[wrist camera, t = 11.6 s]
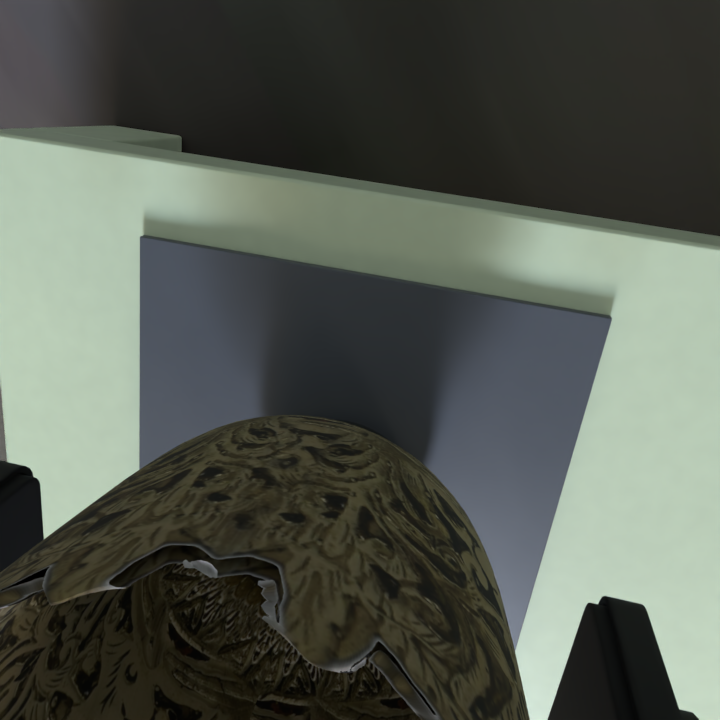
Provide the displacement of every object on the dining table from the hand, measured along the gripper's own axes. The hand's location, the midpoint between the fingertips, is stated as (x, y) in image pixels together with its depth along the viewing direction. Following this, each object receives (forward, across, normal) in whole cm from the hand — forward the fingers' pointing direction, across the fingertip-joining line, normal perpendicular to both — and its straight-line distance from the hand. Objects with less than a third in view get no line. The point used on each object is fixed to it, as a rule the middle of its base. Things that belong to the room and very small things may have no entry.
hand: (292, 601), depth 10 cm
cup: (+4, 0, 0) cm, 4 cm away
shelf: (+9, -5, 0) cm, 10 cm away
